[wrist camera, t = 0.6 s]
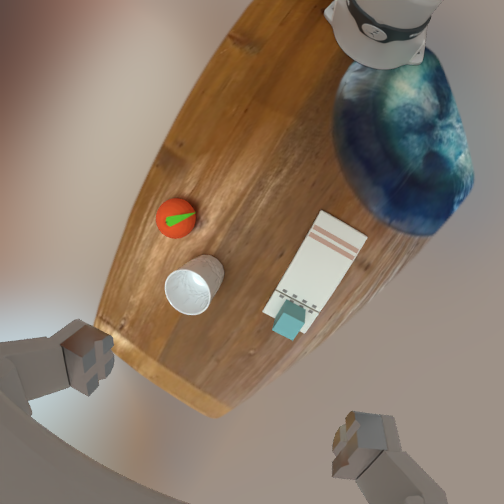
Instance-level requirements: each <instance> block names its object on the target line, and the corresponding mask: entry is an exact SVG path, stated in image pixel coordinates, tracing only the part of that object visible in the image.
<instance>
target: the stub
mask: <svg viewBox="0 0 504 504" xmlns="http://www.w3.org/2000/svg"><path fill="white" fill-rule="evenodd" d="M263 312H264V313H266V314H268V315H269V316H271V317H273V318H275V321H274V325H273V329H272V330H273V331H275V332H277V333H279V334H281V335H283V336H285V337H287V338H289V339H291V340H293V339H294V338H295V336H296V335H297V334H298V332H299V331H301V332H302V333H304V334H305V333H306V331H307V330H308V328H309V327H310V326H311V324H312V323H313V321H314V320H315V318H316V317H317V316H318V314H319V312H318V311H316V310H315V309H313V308H311V307H309V306H307V305H305V304H303V303H301V302H299V301H297V300H296V299H294V298H292V297H290V296H288V295H286V294H284V293H282V292H280V291H279V290H277V289H275V291H274V292H273V294H272V296H271V297H270V299H269V301H268V302H267V304H266V306H265V307H264V309H263Z"/></svg>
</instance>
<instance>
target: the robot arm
mask: <svg viewBox="0 0 504 504" xmlns="http://www.w3.org/2000/svg"><path fill="white" fill-rule="evenodd" d="M442 1H443V0H334V1H333V2H332V3H331V4H330V5H329V6H328V7H327V8H326V9H325V11H324V16H325V18H326V19H327V20H328V22H329V23H330V24H331V25H332V27H333V31H334V35H335V38H336V40H337V42H338V44H339V46H340V47H341V48H342V50H343V51H344V52H345V53H346V54H347V55H348V56H350V57H351V58H352V59H354V60H355V61H357V62H359V63H360V64H362V65H365V66H368V67H371V68H375V69H393V68H397V67H399V66H402V65H405V64H409V65H419V64H421V62H422V61H423V56H424V49H425V42H426V34H427V26H428V23H429V21H430V19H431V15H432V13H433V12H434V11H435V10H436V8H437V7H438V6H439V5H440V4H441V2H442ZM417 53H418V54H417ZM113 346H114V343H113V337H112V336H111V335H109V334H107V333H105V332H103V331H101V330H99V329H97V328H95V327H93V326H91V325H89V324H87V323H85V322H83V321H82V320H80V319H76V320H74V321H72V322H71V323H69V324H68V325H67V326H65V327H64V328H62V329H61V330H60V331H58V332H57V333H55V334H54V335H53V336H51V337H50V338H47V337H40V338H32V339H24V340H17V341H8V342H0V504H189V503H186V502H183V501H181V500H178V499H175V498H173V497H170V496H167V495H165V494H162V493H160V492H158V491H155V490H153V489H150V488H148V487H146V486H143V485H141V484H139V483H137V482H135V481H133V480H131V479H129V478H127V477H125V476H123V475H121V474H119V473H117V472H115V471H113V470H111V469H109V468H107V467H106V466H104V465H102V464H100V463H98V462H97V461H95V460H93V459H91V458H90V457H88V456H86V455H85V454H83V453H82V452H80V451H78V450H77V449H75V448H74V447H72V446H71V445H69V444H68V443H66V442H65V441H63V440H62V439H60V438H59V437H57V436H56V435H55V434H53V433H52V432H50V431H49V430H47V429H46V428H45V427H44V426H42V425H41V424H40V423H38V422H37V421H36V420H35V419H33V418H32V417H31V415H32V410H31V408H30V405H29V403H28V401H29V400H32V399H35V398H39V397H42V396H44V395H48V394H51V393H54V392H57V391H60V390H63V389H66V388H69V387H70V386H71V387H72V388H74V389H76V390H78V391H80V392H81V393H83V394H85V395H87V396H90V395H91V394H92V392H93V391H94V390H95V389H96V388H97V387H98V386H99V380H101V379H105V378H106V377H107V376H108V375H109V374H110V373H111V370H112V368H113V365H114V354H113V352H112V351H111V348H112V347H113ZM345 419H346V424H344V425H342V426H340V427H339V429H338V430H337V432H336V434H335V437H334V440H333V445H332V449H333V450H332V451H333V453H334V454H335V456H336V458H335V459H334V461H333V462H332V477H333V478H341V479H350V480H356V483H357V485H358V487H359V488H360V490H361V492H362V493H363V495H364V496H365V498H366V500H367V501H368V503H369V504H448V503H447V498H446V494H445V491H444V490H443V489H442V488H440V486H439V485H437V483H436V482H435V481H434V480H433V479H432V478H431V477H430V476H429V475H428V474H427V473H426V472H425V471H424V470H423V469H422V468H421V467H420V466H419V465H418V464H417V463H416V462H415V461H414V460H413V459H412V458H411V457H410V456H409V455H408V454H407V453H406V452H402V449H401V444H400V440H399V435H398V431H397V427H396V423H395V419H394V417H393V416H389V415H380V414H379V415H378V414H370V413H363V412H356V411H351V412H350V413H349V414H348V415H347V417H346V418H345Z"/></svg>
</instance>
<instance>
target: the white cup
mask: <svg viewBox="0 0 504 504" xmlns="http://www.w3.org/2000/svg"><path fill="white" fill-rule="evenodd" d="M223 278H224V269H223V266H222V264H221V263H220V262H219V260H218V259H216V258H215V257H213V256H211V255H200V256H198V257H196V258H194V259H192V260H191V261H189V262H187V263H186V264H184V265H183V266H181V267H180V268H178V269H177V270H175V271H174V272H172V273H171V274H170V275H169V276H168V278H167V280H166V283H165V293H166V296H167V299H168V301H169V302H170V304H171V305H172V306H173V307H174V308H175V309H176V310H178V311H179V312H181V313H184V314H187V315H197V314H200V313H202V312H204V311H205V310H206V309H207V307H208V306H209V304H210V302H211V301H212V299H213V298H214V296H215V294H216V293H217V291H218V289H219V287H220V285H221V283H222V281H223Z"/></svg>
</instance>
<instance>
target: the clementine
mask: <svg viewBox="0 0 504 504" xmlns="http://www.w3.org/2000/svg"><path fill="white" fill-rule="evenodd" d="M195 213H196V212H195V211H194V209H193V207H192V206H191V205H190V204H189V203H188V202H187V201H185V200H183V199H178V198H173V199H169V200H167V201H165V202H164V203H163V204H162V205H161V206H160V207H159V209H158V211H157V214H156V223H157V226H158V229H159V230H160V231H161V233H162V234H164V235H165V236H167V237H170V238H174V239H176V238H182V237H184V236H186V235H187V234H189V233H190V232H191V231H192V229H193V227H194V225H195V220H196V216H195Z"/></svg>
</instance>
